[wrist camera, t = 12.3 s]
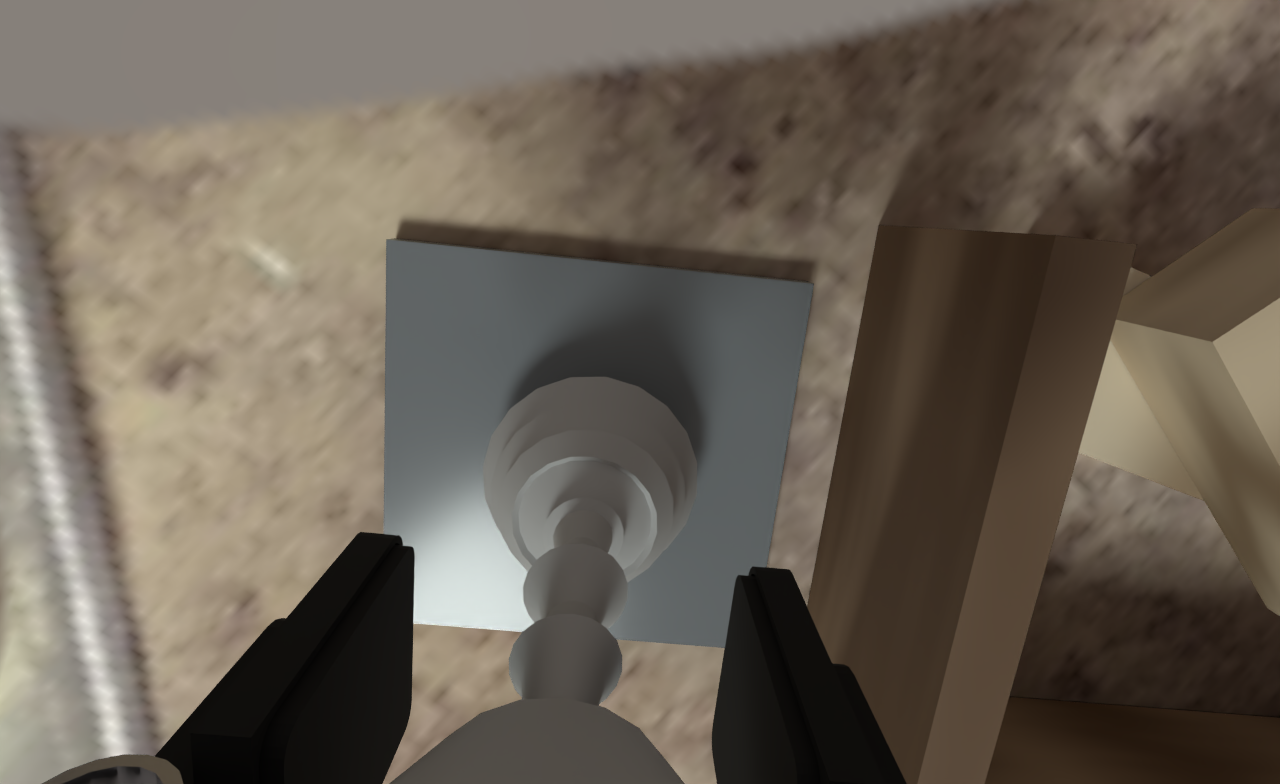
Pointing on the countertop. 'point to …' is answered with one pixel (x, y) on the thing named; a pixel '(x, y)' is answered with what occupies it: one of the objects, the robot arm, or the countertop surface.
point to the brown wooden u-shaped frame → (984, 517)
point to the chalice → (573, 581)
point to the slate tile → (583, 347)
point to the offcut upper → (1219, 379)
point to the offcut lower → (1131, 424)
